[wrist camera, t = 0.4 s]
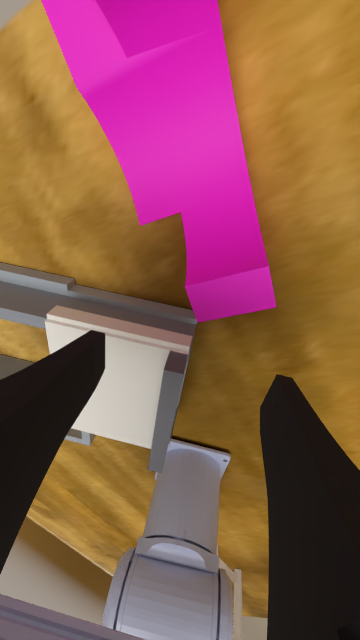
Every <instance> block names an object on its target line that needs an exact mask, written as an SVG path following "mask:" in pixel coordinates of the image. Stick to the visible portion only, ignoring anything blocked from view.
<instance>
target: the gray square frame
mask: <svg viewBox="0 0 360 640" xmlns="http://www.w3.org/2000/svg"><path fill="white" fill-rule="evenodd" d="M56 305H58V306H62V307H66V308H71V309H75V310H80V311H84V312H88V313H93V314H97V315H101V316H106V317H110V318H115V319H119V320H123V321H128V322H132V323H137V324H141V325H145V326H150V327H154V328H158V329H163V330H167V331H172V332H176V333H180V334H185V335H189V336H192V340H191V345H190V349H189V353H188V358H187V363H186V367H185V372H184V376H183V381H182V385H181V390H180V394H179V399H178V404H177V408H176V413H175V417H174V422H173V426H172V431H171V435H170V440H169V444H170V441H171V436H172V432H173V427H174V423H175V419H176V414H177V410H178V405H179V401H180V396H181V392H182V387H183V383H184V379H185V374H186V370H187V365H188V361H189V356H190V352H191V347H192V343H193V338H194V334H195V329H196V325H197V320H196V317H195V314H194V312H193V310H189V309H185V308H180V307H176V306H171V305H167V304H162V303H158V302H153V301H149V300H144V299H140V298H135V297H131V296H126V295H122V294H117V293H113V292H108V291H104V290H99V289H95V288H90V287H86V286H81V285H76V284H75V279H74V278H69V277H65V276H60V275H56V274H51V273H46V272H42V271H37V270H33V269H28V268H24V267H19V266H15V265H10V264H6V263H1V262H0V319H4V320H9V321H13V322H17V323H21V324H26V325H30V326H34V327H38V328H43V329H46V327H45V320H46V319H47V313H48V312H49V311H50V310H52V309H53V308H54V307H55V306H56ZM34 363H35V362H30V361H26V360H22V359H18V358H14V357H10V356H6V355H2V354H0V380H1V379H3V378H5V377H7V376H10V375H12V374H14V373H16V372H18V371H20V370H22V369H24V368H26V367H28V366H30V365H32V364H34ZM94 437H95V435H94V434H91V433H87V432H84V431H80V430H76V429H72V428H71V429H70V430H69V432H68V434H67V435H66V437H65V439H66V440H69V441H73V442H77V443H81V444H85V445H88V446H91V444H92V442H93V440H94Z"/></svg>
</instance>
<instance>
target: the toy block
mask: <svg viewBox="0 0 360 640" xmlns="http://www.w3.org/2000/svg"><path fill="white" fill-rule="evenodd" d="M41 1H42V3H43V6H44V8H45V11H46V13H47V15H48V18H49V20H50V23H51V25H52V28H53V30H54V33H55V35H56V38H57V40H58V43H59V45H60V48H61V50H62V52H63V55H64V57H65V60H66V62H67V65H68V67H69V70H70V72H71V75H72V77H73V80H74V82H75V84H76V87H77V88H78V90H79V91H80V93H81V94H82V96H83V97H84V99H85V100H86V102H87V103H88V105H89V107H90V108H91V110H92V111H93V113H94V115H95V116H96V118H97V120H98V121H99V123H100V125H101V127H102V129H103V130H104V132H105V134H106V136H107V138H108V140H109V142H110V144H111V146H112V148H113V150H114V152H115V154H116V156H117V158H118V161H119V163H120V165H121V168H122V170H123V172H124V175H125V178H126V180H127V183H128V186H129V188H130V191H131V194H132V197H133V201H134V204H135V207H136V211H137V215H138V219H139V224H140V226H141V225H144V224H147V223H150V222H153V221H156V220H159V219H162V218H165V217H168V216H171V215H174V214H177V213H180V212H181V215H182V220H183V226H184V233H185V241H186V252H187V274H186V282H185V289H186V292H187V295H188V297H189V300H190V303H191V306H192V309H193V312H194V314H195V317H196V320H197V323H198V322H204V321H209V320H214V319H219V318H224V317H229V316H234V315H240V314H245V313H250V312H255V311H260V310H265V309H270V308H276V302H275V297H274V291H273V286H272V280H271V275H270V269H269V264H268V261H267V257H266V253H265V248H264V244H263V240H262V235H261V231H260V226H259V222H258V217H257V212H256V208H255V203H254V198H253V193H252V188H251V183H250V178H249V173H248V168H247V163H246V158H245V153H244V147H243V142H242V137H241V132H240V126H239V121H238V116H237V110H236V105H235V99H234V94H233V88H232V82H231V77H230V71H229V66H228V60H227V54H226V48H225V43H224V37H223V31H222V25H221V19H220V13H219V7H218V1H217V0H41Z"/></svg>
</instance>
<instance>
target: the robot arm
mask: <svg viewBox="0 0 360 640" xmlns="http://www.w3.org/2000/svg"><path fill="white" fill-rule="evenodd" d="M104 370H105V333H103V332H98V331H94V330H90V331H89V332H87V333H85V334H84V335H82V336H80V337H79V338H77V339H75V340H74V341H72V342H70V343H69V344H67V345H66V346H64V347H62V348H61V349H59V350H57V351H55V352H54V353H52V354H50V355H48V356H47V357H45V358H43V359H41V360H39V361H37V362H35V363H34V364H32V365H30V366H28V367H26V368H24V369H22V370H20V371H18V372H16V373H14V374H12V375H10V376H7V377H5V378H3V379H1V380H0V574H1V571H2V569H3V567H4V564H5V562H6V559H7V557H8V555H9V552H10V550H11V548H12V546H13V543H14V541H15V539H16V536H17V534H18V532H19V530H20V528H21V525H22V523H23V521H24V519H25V517H26V515H27V512H28V510H29V508H30V506H31V504H32V502H33V500H34V497H35V495H36V493H37V491H38V489H39V487H40V485H41V483H42V481H43V479H44V477H45V475H46V473H47V471H48V469H49V467H50V465H51V463H52V461H53V459H54V457H55V455H56V453H57V451H58V449H59V447H60V445H61V444H62V442H63V440H64V439H65V437H66V435H67V434H68V432H69V430H70V429H71V427H72V426H73V424H74V423H75V421H76V420H77V418H78V416H79V415H80V413H81V412H82V410H83V409H84V407H85V405H86V404H87V402H88V401H89V399H90V397H91V396H92V394H93V393H94V391H95V389H96V387H97V385H98V383H99V381H100V379H101V377H102V375H103V373H104ZM260 435H261V444H262V453H263V461H264V469H265V477H266V486H267V496H268V522H269V595H268V627H267V640H360V470H359V469H358V468H357V467H356V466H355V465H354V463H353V462H352V461H351V460H350V458H349V457H348V456H347V455H346V454H345V452H344V451H343V450H342V448H341V447H340V446H339V445H338V443H337V442H336V441H335V439H334V438H333V437H332V435H331V434H330V433H329V431H328V430H327V429H326V427H325V426H324V424H323V423H322V422H321V420H320V419H319V417H318V416H317V414H316V413H315V411H314V410H313V409H312V407H311V406H310V404H309V403H308V401H307V400H306V398H305V397H304V395H303V393H302V392H301V390H300V389H299V387H298V386H297V384H296V383H295V381H294V380H293V379H292V378H290V377H286V376H282V375H278V374H277V375H276V377H275V379H274V381H273V383H272V385H271V387H270V389H269V391H268V393H267V395H266V397H265V399H264V401H263V403H262V405H261V407H260ZM230 458H231V456H230V454H229V453H226V452H222V451H218V450H214V449H210V448H206V447H202V446H198V445H194V444H190V443H186V442H183V441H179V440H175V439H171V441H170V444H169V445H168V449H167V453H166V458H165V462H164V466H163V471H162V474H161V473H158V472H155V480H156V483H155V487H154V492H153V496H152V500H151V504H150V508H149V512H148V516H147V520H146V525H145V529H144V533H143V537H139V538H138V542H137V546H136V548H134V547H130V548H129V549H128V550H127V551H126V552H125V553H124V554H123V555H122V556H121V558H120V560H119V562H118V565H117V567H116V570H115V573H114V576H113V580H112V583H111V586H110V590H109V594H108V598H107V602H106V607H105V611H104V617H103V623H102V626H101V625H97V624H95V623H91V622H88V621H85V620H82V619H78V618H75V617H72V616H69V615H65V614H62V613H59V612H56V611H52V610H49V609H46V608H43V607H40V606H36V605H34V604H30V603H27V602H24V601H21V600H17V599H14V598H11V597H8V596H5V595H1V594H0V640H232V635H233V593H232V583H231V580H230V578H229V576H228V575H227V572H226V570H225V569H222V568H219V555H217V534H218V513H219V492H220V480H221V478H222V476H223V474H224V472H225V469H226V467H227V465H228V463H229V461H230Z"/></svg>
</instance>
